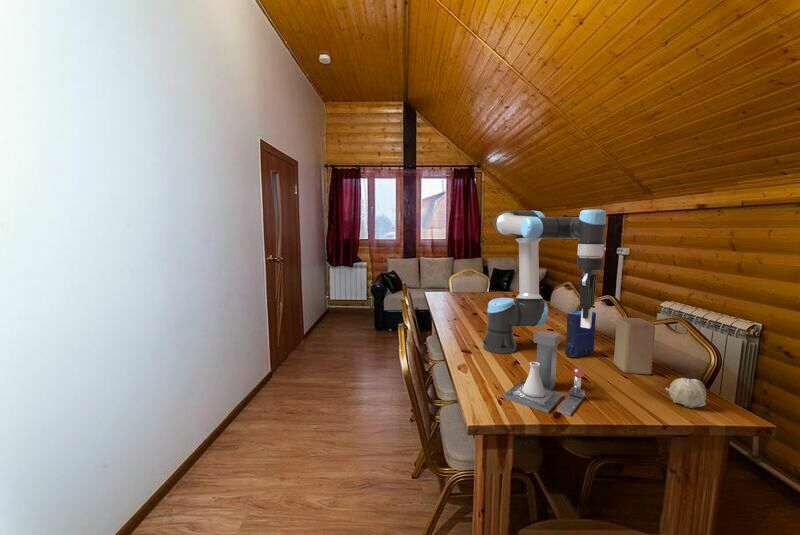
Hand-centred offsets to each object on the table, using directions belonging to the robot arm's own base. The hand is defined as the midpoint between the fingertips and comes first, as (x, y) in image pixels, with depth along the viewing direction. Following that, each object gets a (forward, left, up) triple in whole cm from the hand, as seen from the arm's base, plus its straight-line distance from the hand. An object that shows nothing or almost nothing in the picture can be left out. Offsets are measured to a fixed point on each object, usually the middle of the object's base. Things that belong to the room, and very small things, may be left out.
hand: (585, 327), depth 113 cm
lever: (0, -6, -21) cm, 22 cm away
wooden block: (+10, +34, -23) cm, 42 cm away
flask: (-10, -16, -21) cm, 28 cm away
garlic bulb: (+26, +12, -23) cm, 37 cm away
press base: (-8, -13, -22) cm, 27 cm away
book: (-10, +37, -23) cm, 45 cm away
